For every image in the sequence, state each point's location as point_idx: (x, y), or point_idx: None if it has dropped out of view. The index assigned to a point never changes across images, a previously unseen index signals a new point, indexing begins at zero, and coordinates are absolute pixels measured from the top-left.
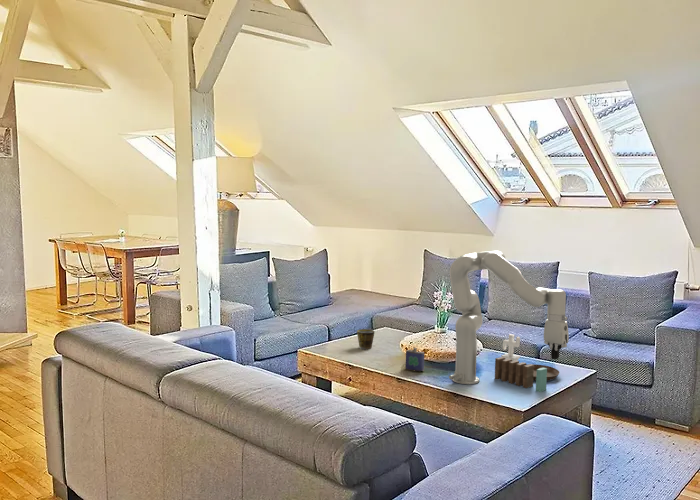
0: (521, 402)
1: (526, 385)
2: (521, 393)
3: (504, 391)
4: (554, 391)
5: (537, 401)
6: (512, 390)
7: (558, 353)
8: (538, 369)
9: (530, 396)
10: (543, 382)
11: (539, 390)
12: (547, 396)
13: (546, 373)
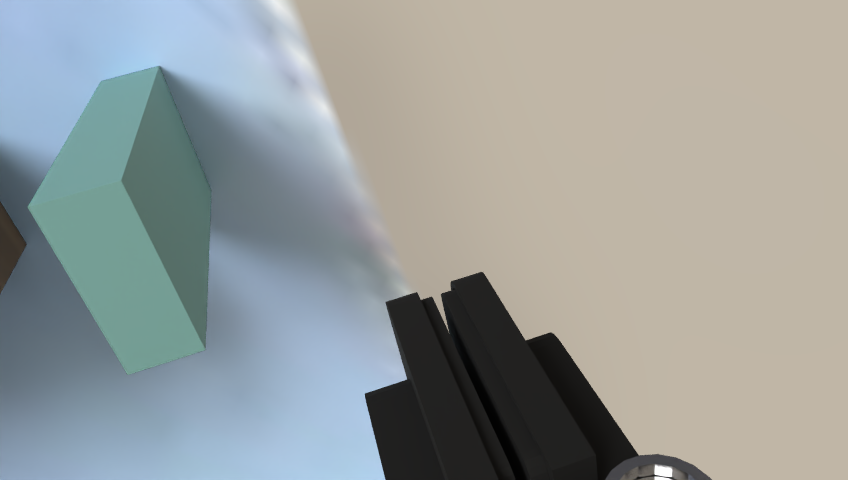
0: None
1: (16, 261)
2: (193, 374)
3: (88, 476)
4: (246, 4)
5: None
6: (75, 406)
7: (599, 422)
8: (148, 355)
9: (302, 344)
10: (178, 168)
11: (208, 199)
12: (366, 203)
13: (139, 154)
